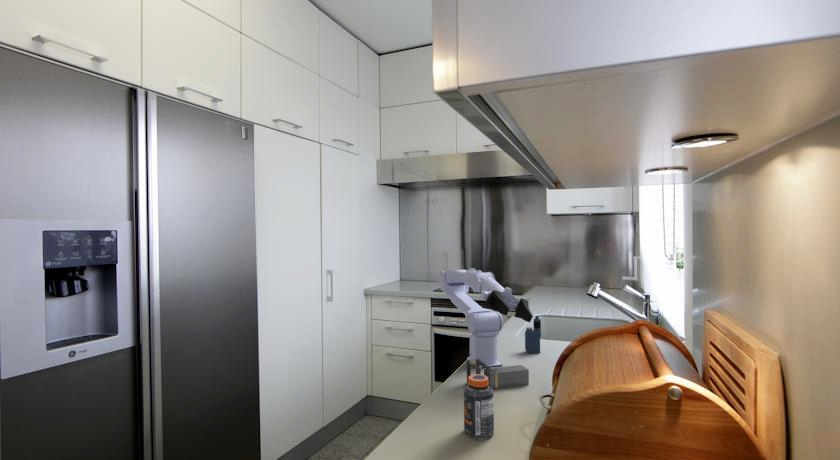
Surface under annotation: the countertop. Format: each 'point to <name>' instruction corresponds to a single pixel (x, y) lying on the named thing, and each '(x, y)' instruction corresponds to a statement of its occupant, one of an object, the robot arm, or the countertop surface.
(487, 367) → the bracket
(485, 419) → the pill bottle
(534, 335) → the vaping device
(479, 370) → the dark grey rectangular frame
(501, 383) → the gray rectangular prism
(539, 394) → the countertop surface
